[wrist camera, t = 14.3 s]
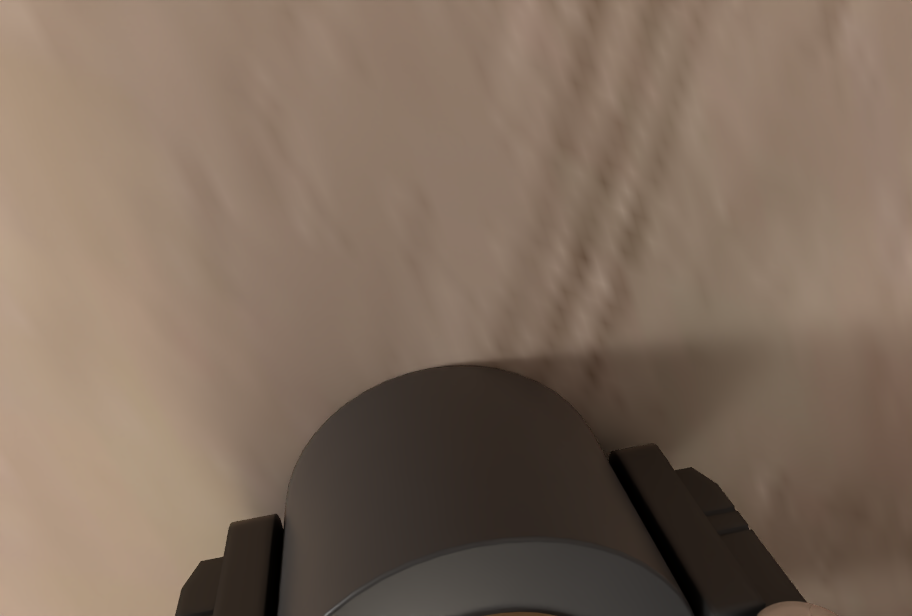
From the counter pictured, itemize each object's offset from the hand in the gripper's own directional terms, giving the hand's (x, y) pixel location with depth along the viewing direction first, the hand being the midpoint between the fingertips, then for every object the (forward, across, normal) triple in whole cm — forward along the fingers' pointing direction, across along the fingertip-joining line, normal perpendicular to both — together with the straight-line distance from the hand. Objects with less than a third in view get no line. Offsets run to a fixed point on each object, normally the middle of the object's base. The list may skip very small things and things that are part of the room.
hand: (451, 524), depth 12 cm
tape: (0, 0, 0) cm, 0 cm away
